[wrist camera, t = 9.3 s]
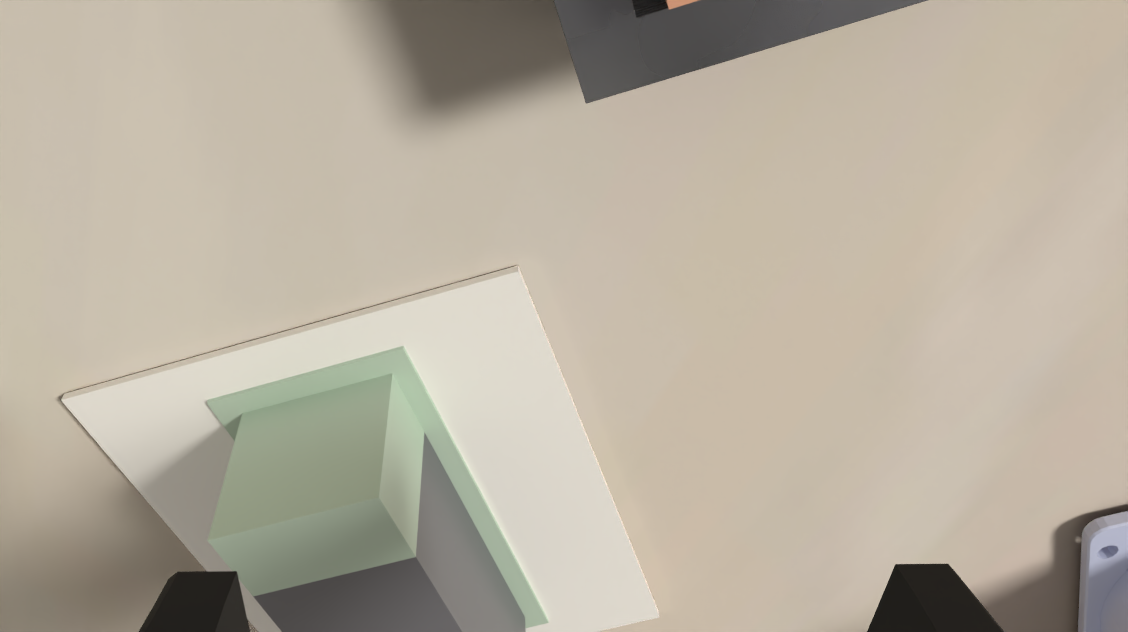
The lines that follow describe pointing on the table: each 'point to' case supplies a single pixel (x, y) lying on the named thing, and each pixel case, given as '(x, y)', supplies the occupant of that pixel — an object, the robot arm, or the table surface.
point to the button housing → (689, 34)
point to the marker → (354, 521)
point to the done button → (678, 3)
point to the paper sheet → (448, 417)
